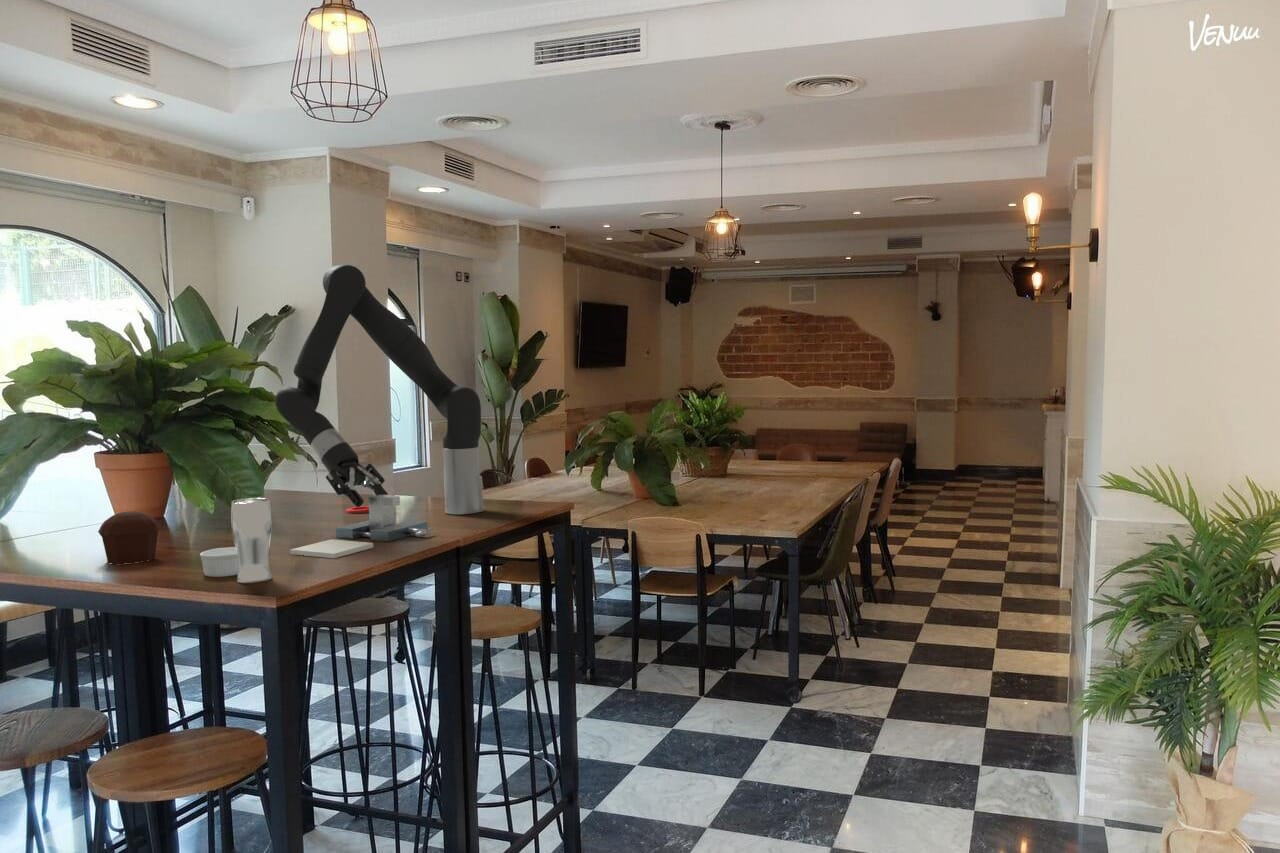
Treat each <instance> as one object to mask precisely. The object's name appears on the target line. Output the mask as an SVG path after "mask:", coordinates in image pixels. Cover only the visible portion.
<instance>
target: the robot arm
mask: <svg viewBox="0 0 1280 853" xmlns="http://www.w3.org/2000/svg"><path fill="white" fill-rule="evenodd" d="M366 283H367V282H366V279H365V276H364V274H363V272H362V271H361V270H360V269H359V268H358V267H356V266H354V265H352V264H338V265H337V264H336V265H334V266H333V265H332V266H331V267H329V268H328V269H327V270H326V271H325V273H324V275H323V278H322V286H323V291H324V292H325V293H326V294H325V298H324V302H323V305H322V309H321V311H320V313H319V316H318V318H317V320H316V322H315V324H314V325H313V327H312V329H311V330H310V332H309V334H308V336H307V338H306V340H305V341H304V344H303V346H302V348H301V350H300V352H299V355H298V357H297V360H296V362H295V365H294V367H293V374H294V376H296V377H297V379H298V381H297V387H294V386H287V387H284V388H281V389H279V391H278V392H277V393H276V394H275V397H274V398H275V399H274V404H275V407H276V410H277V411H278V413H279V414H280V416H281V417H283V419H284V420H285V421H286V422H288V423H289V425H291V426H292V427H293V428H294V429H295V430H296V431H298V432H299V433H300V434H301V435H302V437H303V439H305V441H306V442H307V444H308V445H309V446H310V447H311V449H312V451H313V452H314V454H315V455H316V457H317V459H319V461H320V462H321V463H322V464H323V466H324V467H325V468H326V470H327V471H328V473H327V475H326V476H325V479H326V480H327V482H328V483H329V484H330V486H331V487H332V489H333V490H334V491H335V493H336V494H337V495H338V496H341V495H344V496H346V497H348V499H349V500H350V501H351V503H352V504H353V505H354V507H360V506H363V504H364V502H365V500H364V499H363V497H362V496H361V495H360V493H359V492H358V491H357V490H356V489H354V487H356V486H362V487H363V488H368V489H370V490H372V491H373V492H374V493H375V494H376V495H389V494H388V492H387V491H386V489H384V487H383V486H382V485H383V484H384V483H385V482H386V480H385V479H384V477H383V476H382V474H381V473H379V471H378V470H377V469H376V467H375V468H374V467H373V465H372V464H373V463H368V464H367V465H366V466H364V465H362V464H361V463H360V462H359V456H358V454H357V452H355V450H354V449H353V447H352V446H351V445H350V443H348V441H347V440H346V438H345V437H344V436H343V435H342V434H341V433H340V432H339V431H338V430H337V429H336V428H335V426H333V424H332V423H331V421H330V420H329V419H328V418H327V417H326V416H325V415H324V414H322V413H320V412H318V411H317V408H318V406H319V403H320V398H321V392H322V384H323V377H324V376H325V373H326V371H327V368H328V366H329V363H330V361H331V359H332V356H333V354H334V350H335V348H336V346H337V344H338V340H339V338H340V335H341V333H342V331H343V328H344V326H345V324H346V322H347V320H349V317H350V316H351V317H352V318H353V319H355V320H356V321H357V322H358V324H359V325H361V327H362V328H363V330H364V331H365V332H366V334H367V335H368V336H369V337H370V338H371V340H372V341H373V342H374V343H375V345H377V346H378V348H379V349H380V350H381V351H382V353H384V354H385V356H386V357H387V358H388V359H389V360H390V361H391V362H392V363H393V364H394V365H395V366H396V367H397V368H398V369H399V370H401V372H403V374H405V375H406V376H407V378H409V379H410V380H411V382H413V383H415V384H416V386H418V387H419V389H421V390H422V392H423V393H424V394H425V396H426V397H427V398H428V400H430V402H431V404H432V405H433V406H434V407H435V408H436V410H437V411H438V412H439V414H440V415H441V416H442V417H443V418H445V419H446V420H447V423H446V424H447V426H446V433H445V435H444V436H443V438H442V455H443V460H442V461H443V484H444V511H445V514H447V515H470V514H477V513H480V512H484V501H483V500H484V497H483V494H484V493H483V476H482V475H480V456H479V454H480V452H479V440H480V437H481V434H482V433H481V432H482V408H481V406H482V405H481V400H480V397H479V395H478V393H477V392H476V391H475V390H474V389H472V388H470V387H467V386H459V385H457V383H455V382H454V381H453V380H452V379H451V378H450V377H448V376H447V375H446V374H445V373H444V372H443V371H442V369H440V367H439V366H438V364H437V362H436V361H435V358H434V357H433V355H432V353H431V351H430V350H429V348H428V346H427V345H426V344H425V342H424V340H422V338H421V337H420V336H419V335H418V334H417V333H416V332H415V330H413V329H412V328H411V326H410V325H408V324H407V323H406V322H405V321H404V320H402V319H401V317H399V316H397V315H396V314H395V313H394V312H392V311H391V310H389V309H388V307H386V306H384V305H383V304H382V303H381V302H380V301H379V300H377V298H376V297H375V296H374V295H373V293H372V292H371V291H370V290H369V289H368V287H367V286H366V285H367V284H366ZM366 477H367V478H366ZM376 477H377V479H376ZM373 484H374V485H373ZM373 492H372V493H373Z"/></svg>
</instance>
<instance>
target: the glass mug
mask: <svg viewBox="0 0 1280 853" xmlns="http://www.w3.org/2000/svg"><path fill="white" fill-rule="evenodd" d="M399 505H400V506H401V496H400V495H394V494H388V495H375V496H373V495H371V496H368V506H369V512H368V517H369V518H368V520H369V523H370V531H371V530H375V529H379V528H383V527H387V526H391V525H395V524H396V523H395V507H396V506H399Z"/></svg>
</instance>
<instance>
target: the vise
mask: <svg viewBox="0 0 1280 853" xmlns="http://www.w3.org/2000/svg"><path fill="white" fill-rule="evenodd" d="M434 532H435V530H434V528H429V529H428V521H424V520H423V521H422V520H407V521H403V522H399V523H395V525H391V526H387V527H383V528H379V529H375V530H371V531H370V523H369V519H367V520H364V521H360V522H359V521H358V522H355V523H350V524H346V525H343V526H338V527H335V537H336V538H342V539H357V538H370V541H374V542H375V541H376V542H378V541H379V542H386V543H387V542H391V541H395V540H399V539H403V538H407V537H410V536H414V537H415V538H416V537H427V536H428V534H431V533H434Z"/></svg>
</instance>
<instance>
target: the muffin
mask: <svg viewBox="0 0 1280 853" xmlns="http://www.w3.org/2000/svg"><path fill="white" fill-rule="evenodd" d="M161 528H162V526H161V525H160V524H159V522H158V521H157V520H156V519H155V518H154V517H153V516H151V515H149V514H147V513H145V512H142V511H136V510H135V511H122V512H119V513H115V514H113V515H111V516H110V517H108V518H107V519H105V521H103V523H102V524H101V525H100V527H99V529H98V530H97V533H98V534H99V535H100V536H101V540H102V543H103V544H102V545H103V547H104V551H105V556H106V561H107V563H108V564H109V563H114V564H113V565H115V564H124V563H135V562H141V561H147V560H150V559H152V560H154V559H153V558H156V551H157V550H156V549H157V543H158V535H159V534H158V532H159V531H160V529H161ZM150 561H151V560H150ZM147 562H148V561H147ZM141 563H142V562H141ZM124 565H125V564H124Z"/></svg>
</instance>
